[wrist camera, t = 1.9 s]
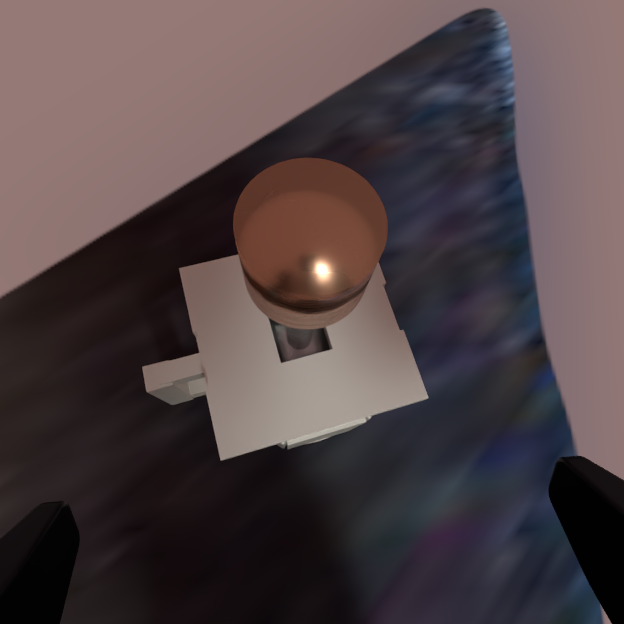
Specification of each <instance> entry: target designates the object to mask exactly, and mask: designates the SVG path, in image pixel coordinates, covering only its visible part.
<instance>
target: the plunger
mask: <svg viewBox="0 0 624 624" xmlns="http://www.w3.org/2000/svg"><path fill="white" fill-rule="evenodd" d="M233 231H234V237H235V242H236V246H237V250H238V255H239V259H240V264H241V268H242V272H243V277H244V281H245V285H246V288H247V291H248V293H249V295H250V297H251V299H252V301H253V302H254V304H255V305H256V306H257V307H258V309H259V310H260V311H261V312H262V313H264V314H265V315H266V316H267V317H269V322H270V325H271V329H272V332H273V336H274V340H275V343H276V347H277V351H278V354H279V358H280V362H281V363H283V362H287V361H291V360H294V359H298V358H302V357H305V356H309V355H313V354H316V353H320V352H324V351H327V350H330V348H329V344H328V341H327V338H326V335H325V332H324V328H323V327H326V326H329V325H332V324H334V323H336V322H338V321H340V320H342V319H343V318H345V317H346V316H347V315H348V314H349V313H351V312H352V311H353V310H354V308H355V307H356V306H357V305H358V303H359V302H360V300H361V298H362V296H363V294H364V292H365V290H366V287H367V285H368V283H369V281H370V279H371V277H372V274H373V272H374V270H375V268H376V266H377V263H378V261H379V259H380V257H381V255H382V253H383V250H384V248H385V244H386V241H387V233H388V223H387V216H386V212H385V209H384V206H383V204H382V201H381V199H380V197H379V196H378V194H377V193H376V191H375V190H374V188H373V187H372V186H371V185H370V184H369V183H368V182H367V181H366V180H365V179H364V178H363V177H362V176H360V175H359V174H358V173H356V172H355V171H353V170H352V169H350V168H348V167H346V166H344V165H341V164H339V163H336V162H333V161H330V160H325V159H320V158H297V159H290V160H287V161H283V162H280V163H277V164H275V165H272V166H271V167H269V168H267V169H265V170H264V171H262V172H261V173H259V174H258V175H257V176H256V177H254V178H253V179H252V180H251V181H250V182H249V184H248V185H247V186H246V187H245V188H244V190H243V192H242V193H241V195H240V197H239V199H238V202H237V204H236V207H235V211H234V218H233Z"/></svg>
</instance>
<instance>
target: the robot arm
mask: <svg viewBox="0 0 624 624" xmlns="http://www.w3.org/2000/svg"><path fill="white" fill-rule="evenodd" d="M549 498H550V501H551V503H552V505H553V507H554V510H555V512H556V514H557V516H558V518H559V520H560V523H561V525H562V527H563V529H564V531H565V534H566V536H567V538H568V540H569V542H570V544H571V547H572V549H573V551H574V553H575V555H576V557H577V560H578V562H579V564H580V566H581V568H582V570H583V572H584V574H585V576H586V578H587V580H588V582H589V584H590V586H591V588H592V590H593V591H594V593H595V595H596V597H597V599H598V600H599V602H600V604H601V606H602V607H603V609H604V611H605V613H606V614H607V616H608V618H609V619H610V621H611V623H612V624H624V480H623V479H621V478H619V477H617V476H616V475H614V474H612V473H610V472H609V471H607V470H605V469H604V468H602V467H600V466H598V465H597V464H595V463H593V462H592V461H590V460H588V459H586V458H585V457H582V456H569V457H561V458H559V459H558V460H557V462H556V464H555V468H554V471H553V474H552V478H551V481H550V484H549ZM79 541H80V536H79V530H78V528H77V525H76V522H75V519H74V517H73V514H72V511H71V509H70V506H69V504H68V503H66V502H64V501H59V502H47V503H42V504H40V505H38V506H37V507H36V508H34V509H33V510H32V511H31V512H30V513H29V514H28V515H26V516H25V517H24V518H23V519H22V520H21V521H20V522H19V523H17V524H16V525H15V526H14V527H13V528H12V529H11V530H10V531H8V532H7V533H6V534H5V535H4V536H3V537H2V538H1V539H0V624H60V621H61V617H62V613H63V609H64V604H65V600H66V596H67V592H68V588H69V584H70V580H71V576H72V572H73V568H74V564H75V560H76V556H77V552H78V548H79Z"/></svg>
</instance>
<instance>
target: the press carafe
mask: <svg viewBox="0 0 624 624" xmlns="http://www.w3.org/2000/svg"><path fill="white" fill-rule="evenodd" d="M179 271H180V276H181V280H182V285H183V290H184V294H185V299H186V303H187V308H188V313H189V317H190V322H191V326H192V331H193V333H194V335H195V336H196V340H197V344H198V349H199V353H197V354H194V355H190V356H186V357H182V358H178V359H175V360H171V361H169V360H167V361H163V362H159V363H155V364H151V365H147V366H144V367H142V369H143V375H144V380H145V386H146V392H147V393H149V394H151V395H153V396H155V397H157V398H159V399H161V400H163V401H165V402H167V403H169V404H171V405H175V404H179V403H182V402H186V401H189V400H193V399H194V398H195V397H199V396H202V395H206V396H207V400H208V405H209V409H210V414H211V419H212V423H213V428H214V433H215V437H216V442H217V446H218V451H219V456H220V460H226V459H230V458H233V457H236V456H240V455H243V454H246V453H250V452H253V451H256V450H260V449H263V448H266V447H270V446H273V445H278V446H280V447H281V448H283V449H284V448H285V446H286V445H287V449H291V448H294V447H297V446H301V445H304V444H310V443H314V442H318V441H321V440H324V439H326V438H328V437H330V436H334V435H337V434H340V433H343V432H347V431H349V430H351V429H353V428H355V427H357V426H359V425H361V424H363V423H365V422H366V421H367V420H369V419H370V418H371V416H373V415H376V414H380V413H383V412H386V411H390V410H393V409H396V408H400V407H403V406H406V405H410V404H413V403H416V402H420V401H423V400H425V399H428V395H427V392H426V390H425V387H424V384H423V382H422V379H421V376H420V373H419V371H418V368H417V365H416V363H415V360H414V357H413V354H412V352H411V349H410V346H409V344H408V341H407V338H406V335H405V333H404V330H399V327H398V325H397V322H396V319H395V316H394V314H393V311H392V308H391V305H390V303H389V300H388V297H387V295H386V292H385V289H384V286H385V284H386V281H385V279H384V276H383V273H382V270H381V268H380V265H379V262H378V263H377V266H376V268H375V270H374V272H373V274H372V277H371V279H370V281H369V283H368V285H367V287H366V290H365V292H364V294H363V296H362V298H361V300H360V302H359V303H358V305H357V306H356V307H355V308H354V310H353V311H352V312H351V313H349V314H348V315H347V316H346V317H345V318H343V319H342V320H340V321H338V322H336V323H334V324H332V325H329V326H326V327H323V328H324V332H325V335H326V338H327V341H328V344H329V348H330V350H327V351H324V352H320V353H316V354H313V355H309V356H305V357H302V358H298V359H294V360H291V361H287V362H283V363H281V362H280V358H279V354H278V351H277V347H276V343H275V340H274V336H273V332H272V329H271V325H270V322H269V317H267V316H266V315H265V314H264V313H262V312H261V311H260V310H259V309H258V307H257V306H256V305H255V304H254V302H253V301H252V299H251V297H250V295H249V293H248V291H247V288H246V285H245V281H244V277H243V272H242V268H241V264H240V259H239V255H234V256H230V257H225V258H221V259H217V260H213V261H208V262H204V263H200V264H196V265H191V266H187V267H183V268H179Z"/></svg>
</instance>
